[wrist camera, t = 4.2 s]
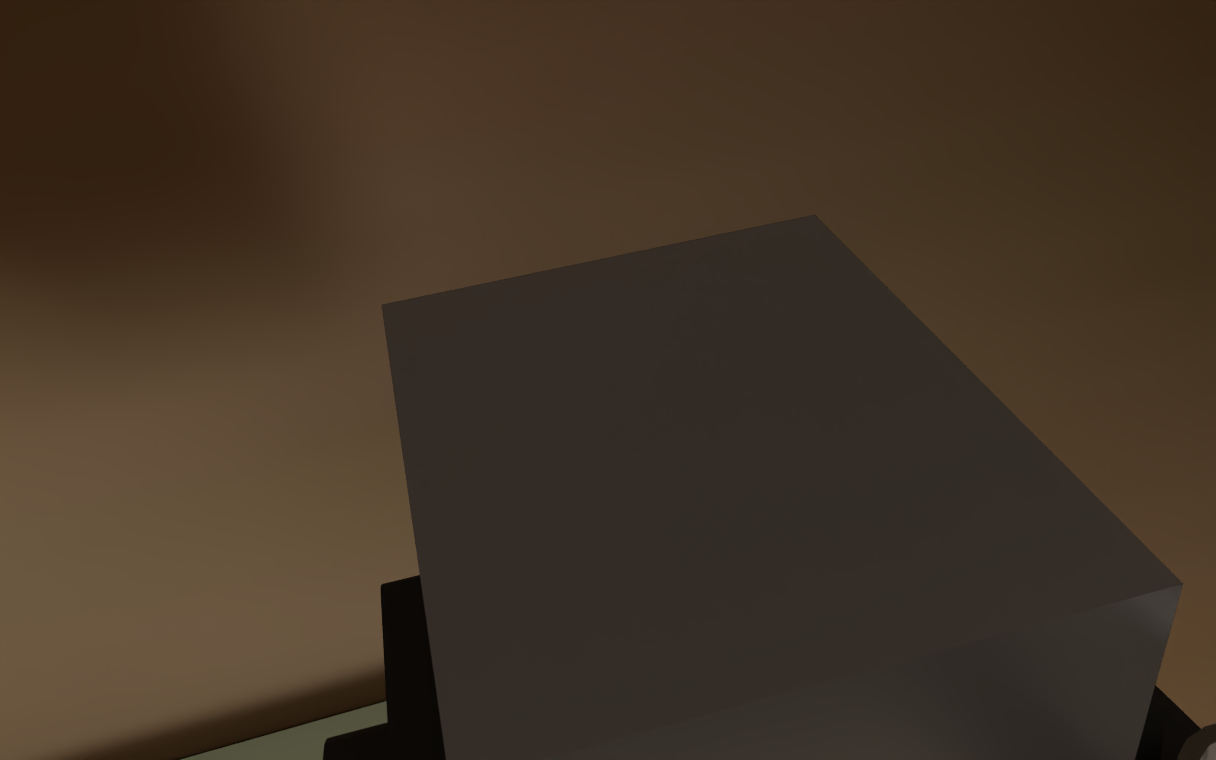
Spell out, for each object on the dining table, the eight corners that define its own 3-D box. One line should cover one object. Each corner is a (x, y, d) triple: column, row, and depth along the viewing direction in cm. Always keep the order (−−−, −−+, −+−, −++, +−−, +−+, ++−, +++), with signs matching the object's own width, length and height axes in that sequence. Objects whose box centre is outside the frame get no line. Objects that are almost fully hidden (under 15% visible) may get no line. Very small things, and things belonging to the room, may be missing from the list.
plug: (814, 214, 10) (1182, 584, 6) (811, 657, 13) (1044, 1090, 9) (380, 303, 9) (449, 786, 5) (493, 744, 13) (589, 1246, 9)
